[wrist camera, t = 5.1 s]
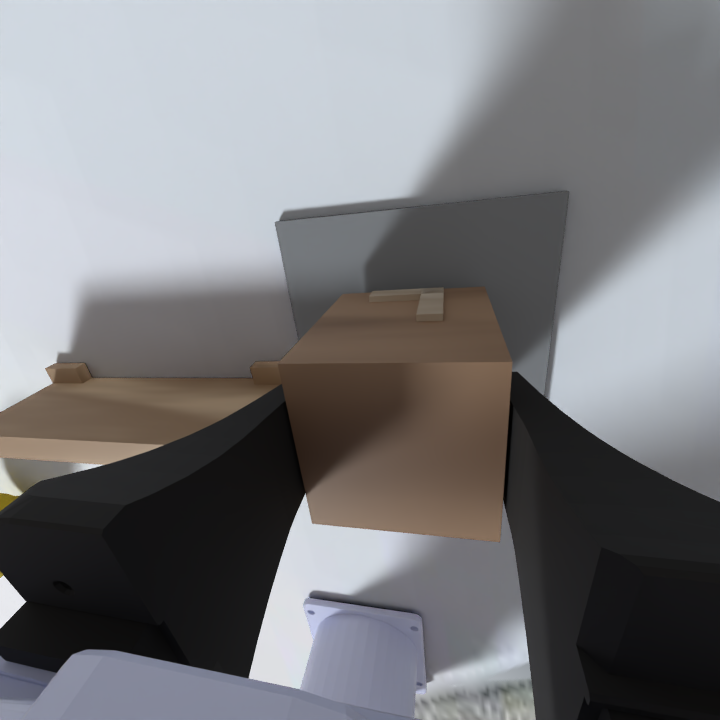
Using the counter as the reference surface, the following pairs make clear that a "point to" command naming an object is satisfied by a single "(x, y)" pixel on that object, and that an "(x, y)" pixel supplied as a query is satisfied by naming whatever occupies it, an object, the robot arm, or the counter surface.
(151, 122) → the counter surface
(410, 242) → the mat
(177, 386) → the screen
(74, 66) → the counter surface
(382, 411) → the letter block
